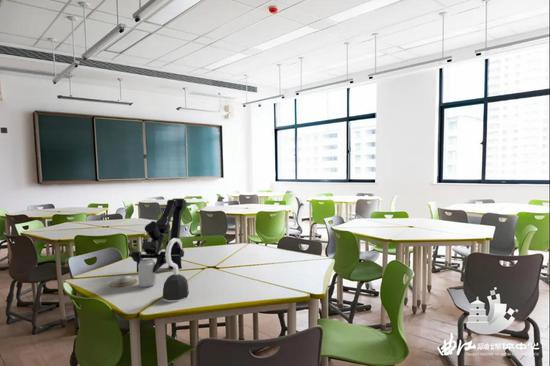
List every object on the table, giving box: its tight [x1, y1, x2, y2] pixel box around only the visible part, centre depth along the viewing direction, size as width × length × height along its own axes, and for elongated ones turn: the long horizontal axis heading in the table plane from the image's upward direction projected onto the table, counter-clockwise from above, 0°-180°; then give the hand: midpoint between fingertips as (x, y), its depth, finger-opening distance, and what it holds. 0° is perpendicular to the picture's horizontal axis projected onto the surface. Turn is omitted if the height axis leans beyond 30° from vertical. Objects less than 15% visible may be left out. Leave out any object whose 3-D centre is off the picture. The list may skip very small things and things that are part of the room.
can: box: [137, 258, 157, 288], centre depth 165 cm, size 8×8×12 cm
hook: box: [162, 238, 190, 303], centre depth 148 cm, size 11×11×25 cm
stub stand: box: [109, 275, 138, 288], centre depth 169 cm, size 12×12×2 cm
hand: (145, 272), depth 164 cm, fingers closed on can, 7 cm apart
